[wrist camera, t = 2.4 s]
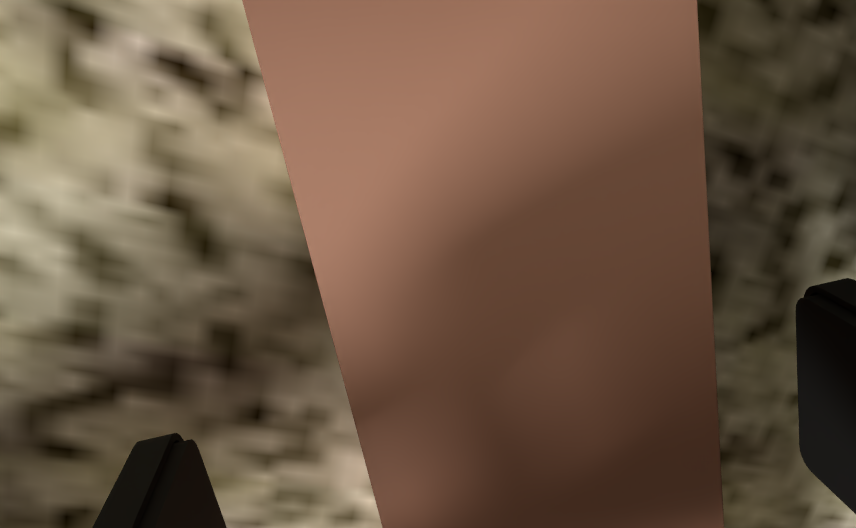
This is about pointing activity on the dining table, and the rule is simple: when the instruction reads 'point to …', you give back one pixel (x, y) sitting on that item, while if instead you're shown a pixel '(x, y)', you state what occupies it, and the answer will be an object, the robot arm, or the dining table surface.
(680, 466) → the beam
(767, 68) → the dining table surface
